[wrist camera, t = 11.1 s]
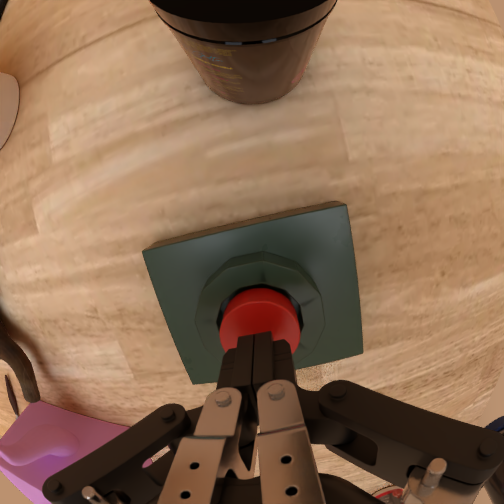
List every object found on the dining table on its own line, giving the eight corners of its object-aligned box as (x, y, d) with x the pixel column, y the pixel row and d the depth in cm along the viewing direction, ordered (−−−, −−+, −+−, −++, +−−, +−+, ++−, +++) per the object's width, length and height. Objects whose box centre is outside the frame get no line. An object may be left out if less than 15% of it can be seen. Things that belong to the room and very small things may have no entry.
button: (289, 279, 15) (292, 292, 13) (302, 343, 16) (306, 361, 14) (214, 295, 15) (209, 310, 13) (234, 356, 16) (231, 374, 14)
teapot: (117, 376, 21) (43, 498, 8) (172, 499, 28) (154, 573, 14) (12, 350, 22) (-60, 418, 8) (84, 475, 28) (55, 535, 15)
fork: (14, 378, 23) (6, 386, 21) (31, 438, 27) (26, 445, 25) (1, 367, 23) (-7, 375, 21) (19, 429, 27) (14, 437, 25)
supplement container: (290, 120, 16) (327, 50, 6) (185, 95, 16) (105, 20, 6) (316, 34, 14) (359, -68, 4) (217, 12, 14) (184, -92, 4)
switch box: (337, 200, 17) (357, 207, 13) (355, 337, 20) (371, 369, 16) (154, 242, 18) (128, 259, 14) (198, 367, 21) (187, 401, 17)
